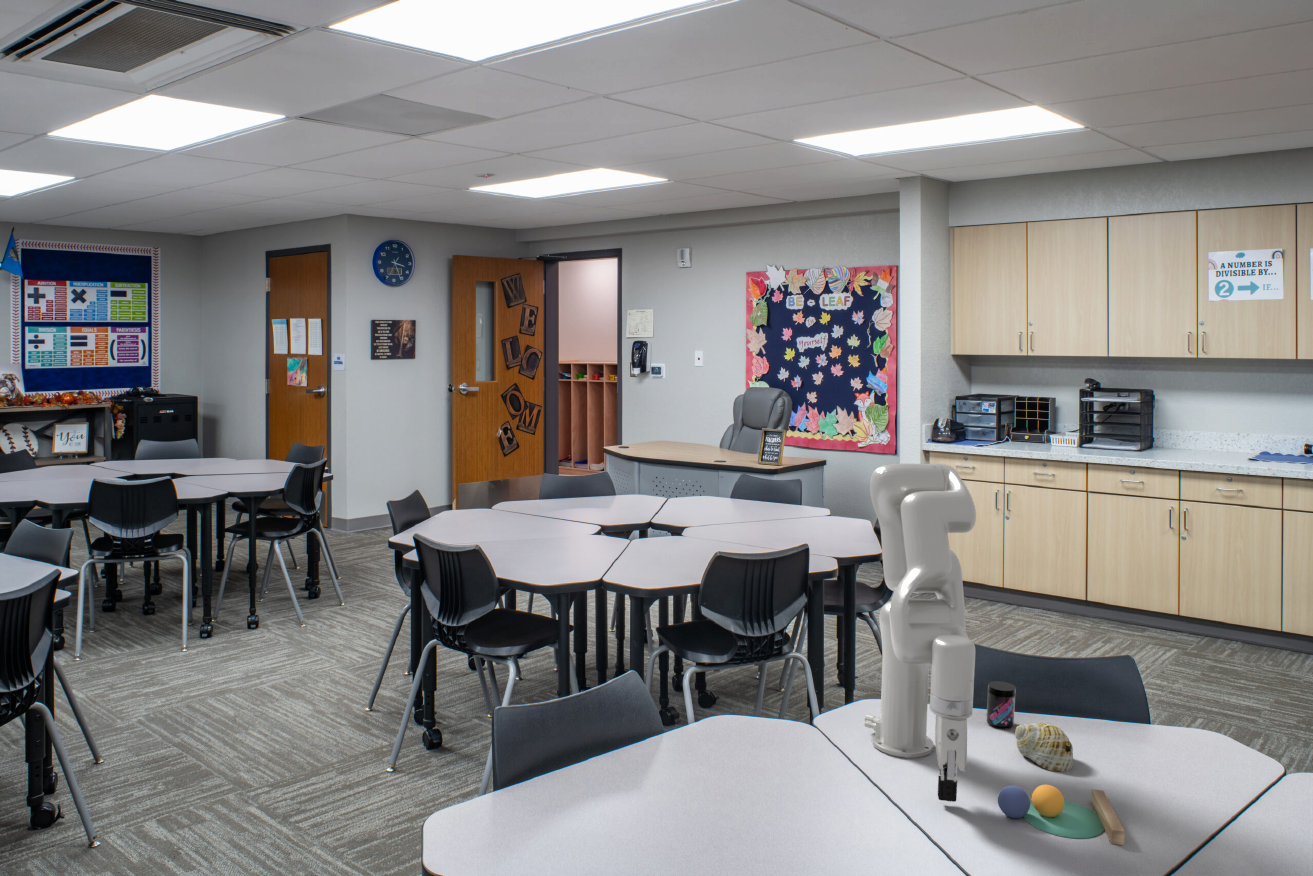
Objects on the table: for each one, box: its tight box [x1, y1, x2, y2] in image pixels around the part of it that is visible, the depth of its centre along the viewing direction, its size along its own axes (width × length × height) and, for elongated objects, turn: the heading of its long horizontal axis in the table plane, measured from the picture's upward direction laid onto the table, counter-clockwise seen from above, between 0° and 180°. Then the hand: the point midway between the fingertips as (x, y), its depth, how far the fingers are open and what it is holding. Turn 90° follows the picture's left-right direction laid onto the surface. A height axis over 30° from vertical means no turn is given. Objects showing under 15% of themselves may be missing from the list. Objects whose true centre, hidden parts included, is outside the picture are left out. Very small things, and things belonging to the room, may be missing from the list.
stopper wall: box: [1090, 789, 1126, 846], centre depth 169 cm, size 2×15×2 cm, turn 168°
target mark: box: [1022, 799, 1105, 839], centre depth 171 cm, size 14×14×1 cm
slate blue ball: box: [997, 785, 1031, 819], centre depth 171 cm, size 6×6×6 cm
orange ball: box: [1031, 784, 1065, 817], centre depth 172 cm, size 6×6×6 cm
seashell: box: [1014, 722, 1074, 772], centre depth 194 cm, size 11×10×10 cm
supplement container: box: [986, 680, 1017, 730], centre depth 212 cm, size 6×6×9 cm
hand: (946, 798), depth 175 cm, fingers closed
